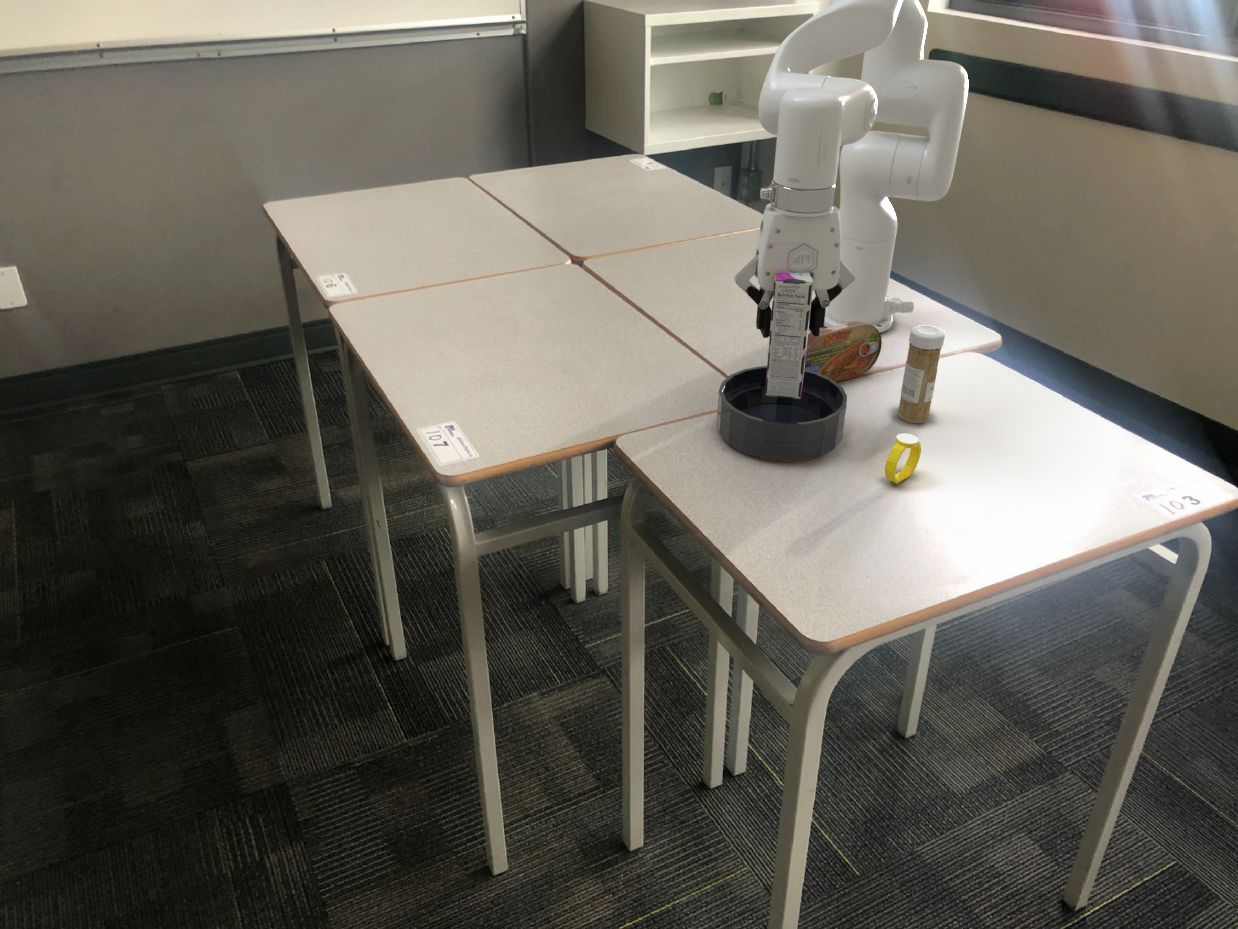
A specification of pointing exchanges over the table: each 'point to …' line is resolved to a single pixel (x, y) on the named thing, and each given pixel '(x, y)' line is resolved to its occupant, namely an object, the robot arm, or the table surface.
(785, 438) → the bowl
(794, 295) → the candy bar box
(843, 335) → the tin
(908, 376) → the spice jar
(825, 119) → the robot arm
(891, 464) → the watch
